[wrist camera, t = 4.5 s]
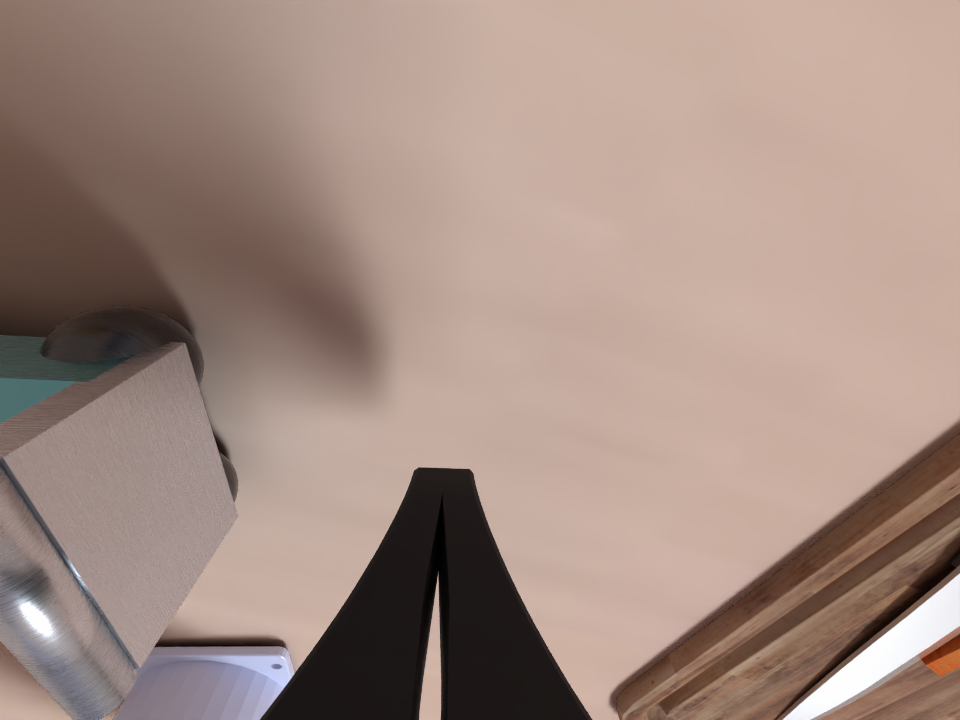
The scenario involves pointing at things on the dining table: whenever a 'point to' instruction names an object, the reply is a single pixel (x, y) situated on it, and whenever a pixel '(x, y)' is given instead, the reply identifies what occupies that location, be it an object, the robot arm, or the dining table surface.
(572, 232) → the dining table surface
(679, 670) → the chopping board
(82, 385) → the trolley
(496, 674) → the robot arm
